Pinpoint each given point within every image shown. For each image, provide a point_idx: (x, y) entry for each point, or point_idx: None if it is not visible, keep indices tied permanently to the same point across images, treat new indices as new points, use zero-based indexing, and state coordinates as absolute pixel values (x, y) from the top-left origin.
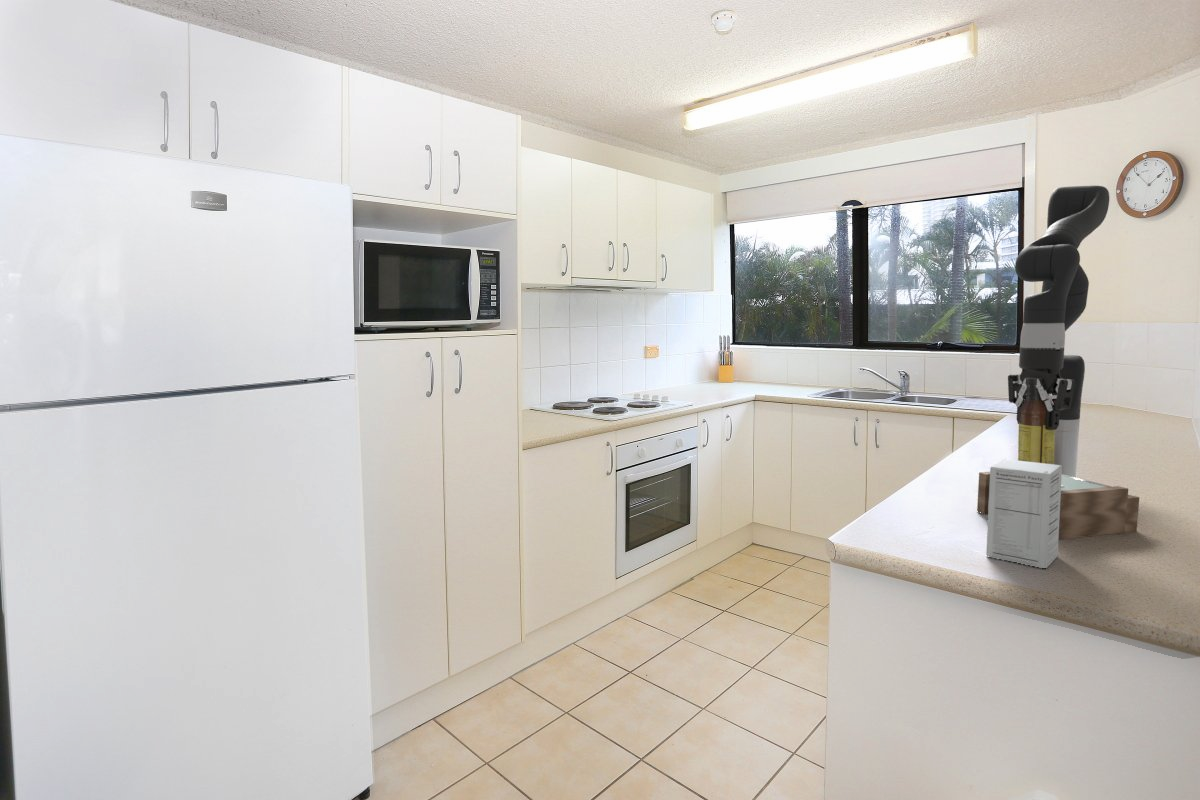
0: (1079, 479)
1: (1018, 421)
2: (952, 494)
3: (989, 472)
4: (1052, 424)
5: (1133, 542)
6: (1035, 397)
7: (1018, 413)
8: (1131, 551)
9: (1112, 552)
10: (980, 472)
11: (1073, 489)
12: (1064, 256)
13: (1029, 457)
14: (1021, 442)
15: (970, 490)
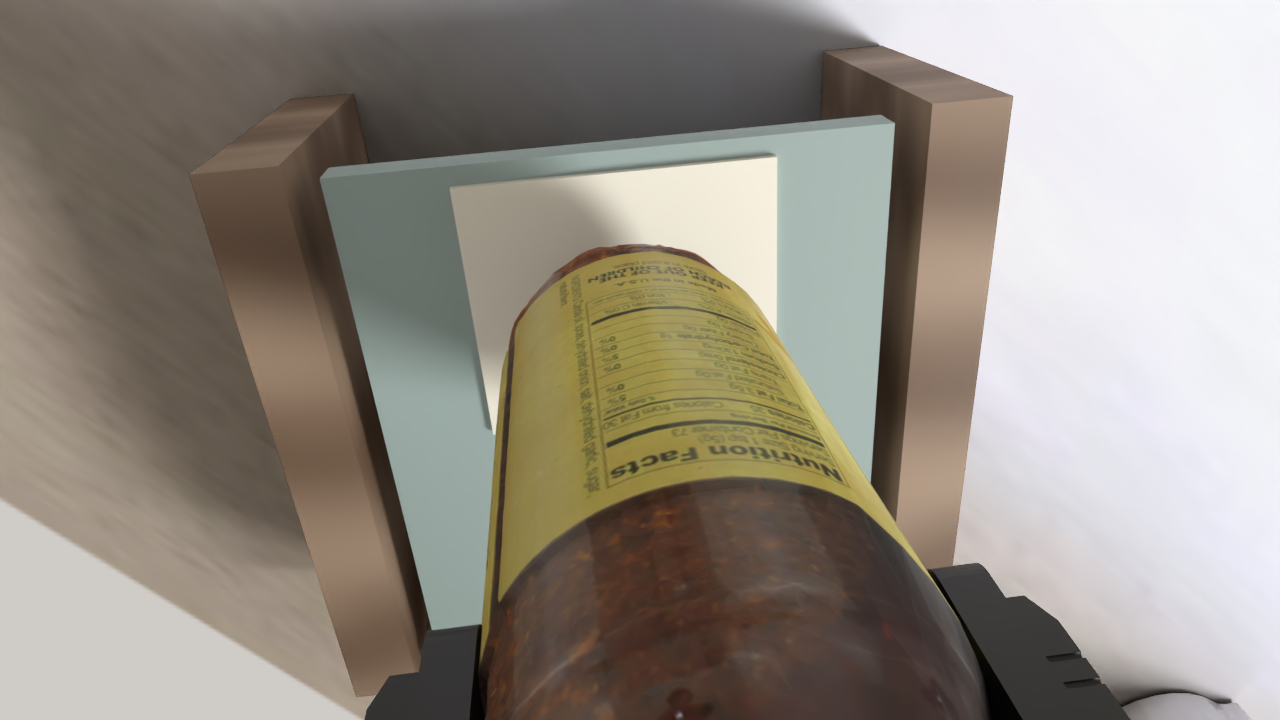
0: None
1: (975, 583)
2: (1245, 173)
3: (978, 184)
4: (377, 715)
5: (247, 454)
6: None
7: (1051, 683)
8: (96, 346)
9: (68, 245)
10: (1007, 107)
11: (418, 437)
12: None
13: (578, 307)
14: (699, 348)
15: (1250, 334)
